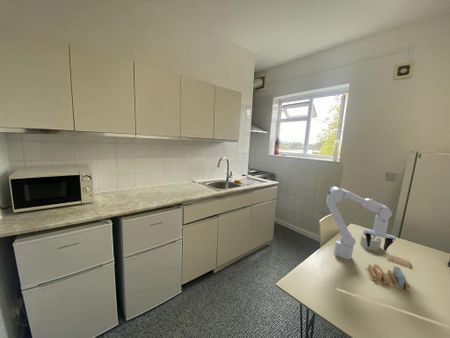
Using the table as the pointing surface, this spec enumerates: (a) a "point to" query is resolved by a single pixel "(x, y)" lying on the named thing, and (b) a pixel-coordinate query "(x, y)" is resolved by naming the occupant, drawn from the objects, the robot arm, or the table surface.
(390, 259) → the clay tablet
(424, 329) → the table surface
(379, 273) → the wooden block
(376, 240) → the lumpy-topped squat cylinder
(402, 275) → the pale blue block
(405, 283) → the rack
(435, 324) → the table surface
